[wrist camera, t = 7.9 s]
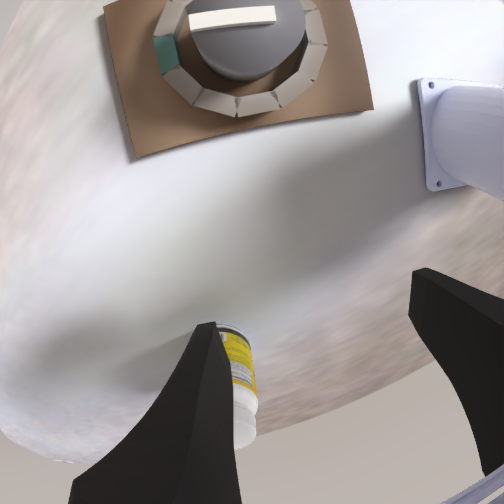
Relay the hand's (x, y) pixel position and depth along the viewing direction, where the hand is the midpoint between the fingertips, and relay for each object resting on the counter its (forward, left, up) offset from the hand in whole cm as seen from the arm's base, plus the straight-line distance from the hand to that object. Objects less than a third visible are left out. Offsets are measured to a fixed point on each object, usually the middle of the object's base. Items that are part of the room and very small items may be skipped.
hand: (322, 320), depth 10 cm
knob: (0, -11, -9) cm, 14 cm away
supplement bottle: (+6, +9, -10) cm, 15 cm away
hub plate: (0, -11, -10) cm, 15 cm away
